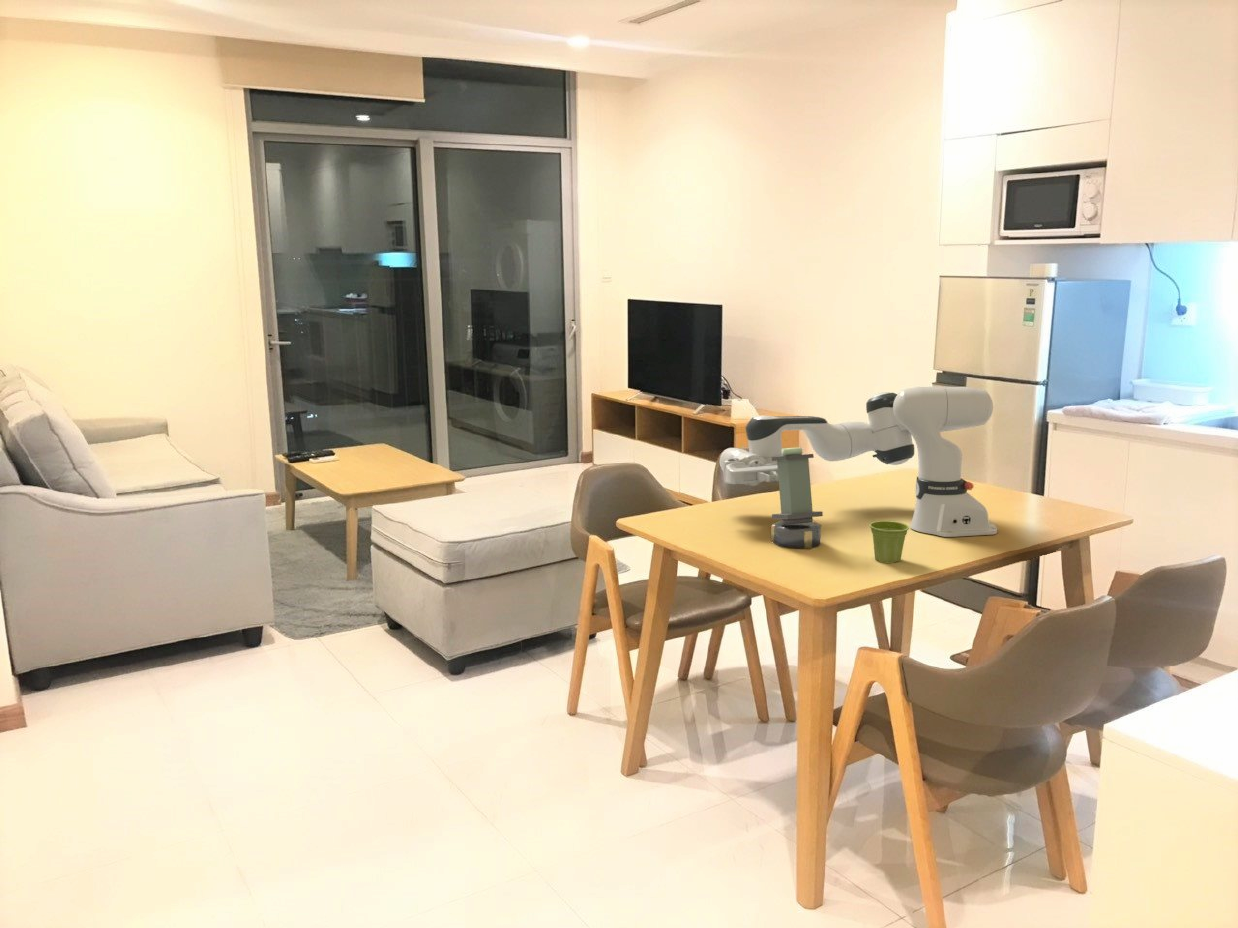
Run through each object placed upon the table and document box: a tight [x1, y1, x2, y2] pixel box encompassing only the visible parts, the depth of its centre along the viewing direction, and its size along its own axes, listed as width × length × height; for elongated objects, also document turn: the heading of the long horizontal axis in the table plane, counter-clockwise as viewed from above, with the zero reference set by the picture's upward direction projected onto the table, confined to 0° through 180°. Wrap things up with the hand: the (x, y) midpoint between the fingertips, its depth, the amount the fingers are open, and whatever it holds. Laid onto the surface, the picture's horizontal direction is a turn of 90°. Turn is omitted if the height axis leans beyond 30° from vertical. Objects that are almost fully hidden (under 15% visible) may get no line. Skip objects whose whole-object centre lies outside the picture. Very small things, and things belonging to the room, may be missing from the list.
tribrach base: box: [770, 520, 822, 550], centre depth 259 cm, size 12×13×5 cm
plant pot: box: [869, 520, 910, 564], centre depth 242 cm, size 9×9×9 cm
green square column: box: [771, 447, 824, 525], centre depth 259 cm, size 10×9×20 cm
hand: (773, 478), depth 269 cm, fingers closed
